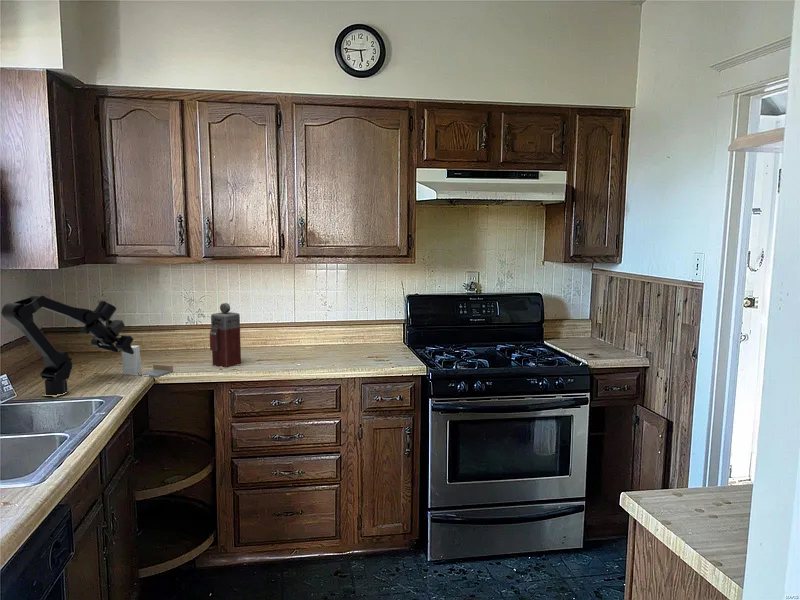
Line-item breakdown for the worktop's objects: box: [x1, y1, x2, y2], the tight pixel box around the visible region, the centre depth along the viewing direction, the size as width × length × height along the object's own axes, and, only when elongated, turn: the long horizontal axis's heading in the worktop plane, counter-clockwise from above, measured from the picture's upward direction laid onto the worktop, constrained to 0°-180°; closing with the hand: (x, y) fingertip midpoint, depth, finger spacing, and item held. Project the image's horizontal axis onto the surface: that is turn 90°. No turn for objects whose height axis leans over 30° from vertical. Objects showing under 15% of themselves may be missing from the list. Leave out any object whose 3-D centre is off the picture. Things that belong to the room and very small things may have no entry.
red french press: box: [209, 302, 242, 368], centre depth 256 cm, size 9×11×28 cm
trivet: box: [140, 363, 174, 379], centre depth 242 cm, size 10×9×3 cm
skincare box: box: [121, 345, 142, 375], centre depth 240 cm, size 6×4×12 cm
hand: (125, 352), depth 237 cm, fingers open, 9 cm apart
